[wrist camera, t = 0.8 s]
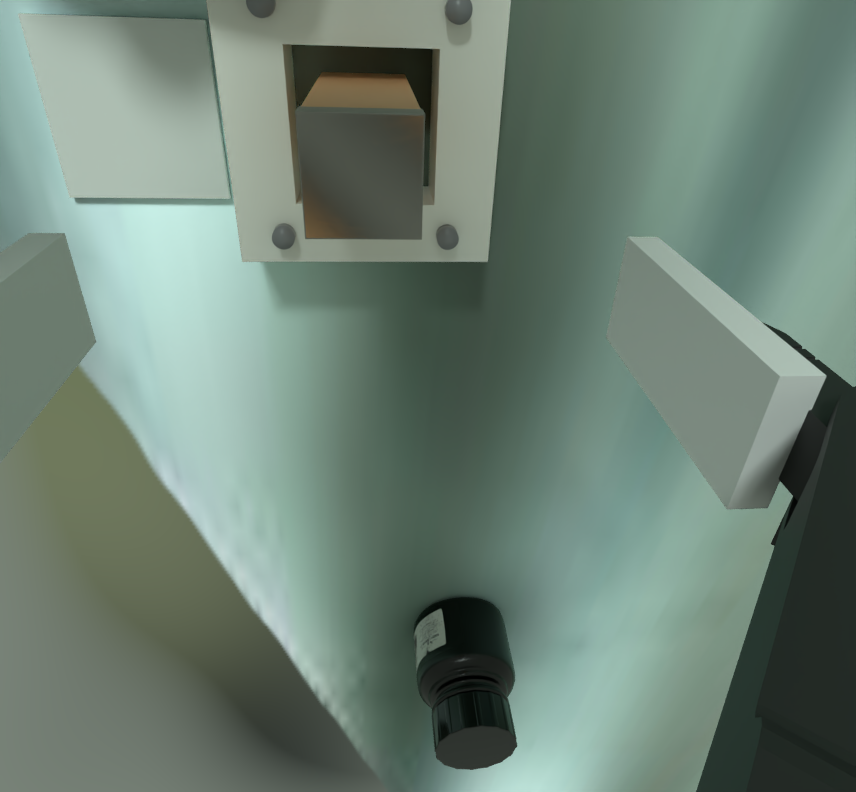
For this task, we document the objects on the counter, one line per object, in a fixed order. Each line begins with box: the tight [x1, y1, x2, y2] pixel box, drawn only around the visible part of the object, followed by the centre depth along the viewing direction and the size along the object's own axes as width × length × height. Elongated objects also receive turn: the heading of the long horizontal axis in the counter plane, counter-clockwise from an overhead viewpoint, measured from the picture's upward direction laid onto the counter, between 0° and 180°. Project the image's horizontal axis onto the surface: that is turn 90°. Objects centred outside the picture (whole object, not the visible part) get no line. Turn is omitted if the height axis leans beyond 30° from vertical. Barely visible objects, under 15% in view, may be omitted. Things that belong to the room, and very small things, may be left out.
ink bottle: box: [414, 597, 517, 770], centre depth 55 cm, size 10×9×12 cm
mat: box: [18, 13, 231, 199], centre depth 34 cm, size 9×9×1 cm
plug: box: [295, 72, 425, 240], centre depth 29 cm, size 5×5×14 cm
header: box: [206, 0, 511, 262], centre depth 33 cm, size 14×14×5 cm
